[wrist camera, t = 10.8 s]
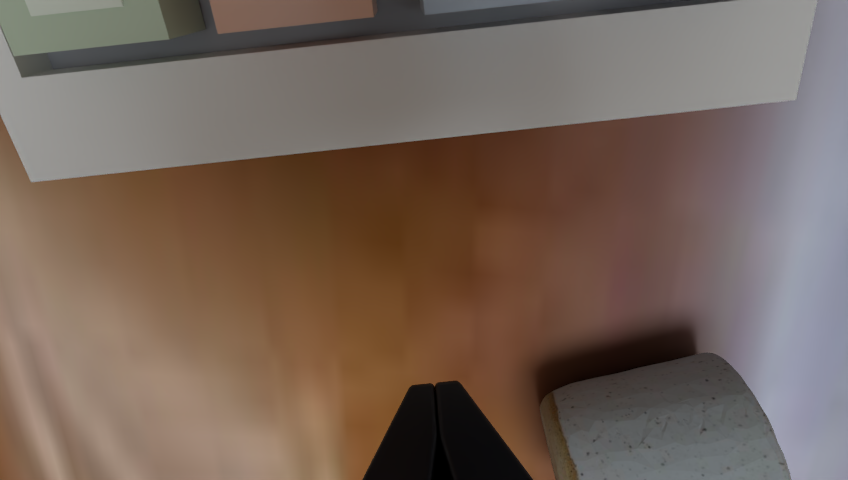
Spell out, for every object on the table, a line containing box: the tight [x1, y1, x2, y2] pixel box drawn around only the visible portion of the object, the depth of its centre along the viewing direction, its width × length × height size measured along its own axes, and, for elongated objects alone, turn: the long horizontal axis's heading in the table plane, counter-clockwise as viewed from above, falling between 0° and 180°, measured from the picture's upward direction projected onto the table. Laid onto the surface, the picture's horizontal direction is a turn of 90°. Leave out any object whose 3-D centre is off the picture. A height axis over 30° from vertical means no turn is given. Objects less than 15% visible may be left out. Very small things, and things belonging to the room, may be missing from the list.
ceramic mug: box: [540, 353, 791, 480], centre depth 23 cm, size 11×8×8 cm
